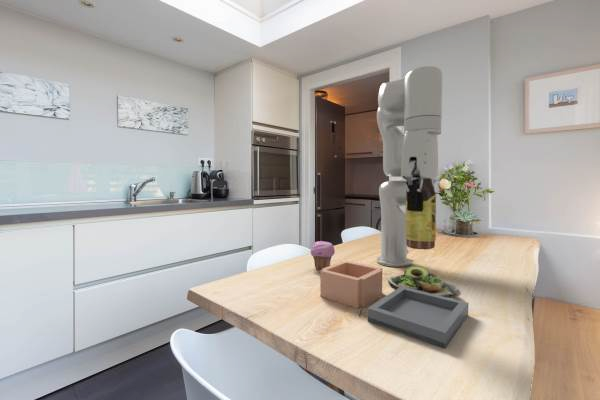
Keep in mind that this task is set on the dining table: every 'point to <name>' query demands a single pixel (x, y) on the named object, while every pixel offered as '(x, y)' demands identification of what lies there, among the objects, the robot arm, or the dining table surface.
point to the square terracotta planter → (351, 283)
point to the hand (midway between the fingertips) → (420, 209)
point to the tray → (420, 315)
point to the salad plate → (423, 282)
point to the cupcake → (322, 254)
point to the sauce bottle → (422, 220)
